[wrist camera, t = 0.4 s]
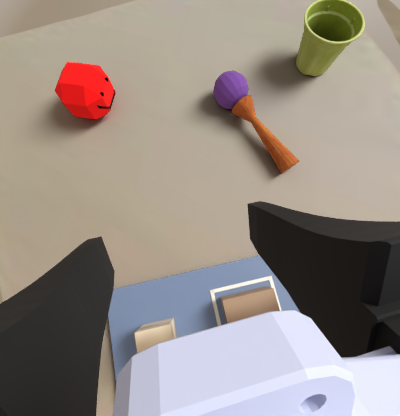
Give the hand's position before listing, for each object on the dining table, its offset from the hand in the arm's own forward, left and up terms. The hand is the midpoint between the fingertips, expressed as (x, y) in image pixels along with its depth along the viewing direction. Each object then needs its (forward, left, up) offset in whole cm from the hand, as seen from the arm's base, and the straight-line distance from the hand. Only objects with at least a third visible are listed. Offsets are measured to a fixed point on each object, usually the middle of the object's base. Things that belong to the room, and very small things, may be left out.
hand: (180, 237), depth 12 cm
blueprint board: (-10, 0, -27) cm, 28 cm away
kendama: (+20, -15, -27) cm, 37 cm away
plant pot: (+31, -30, -27) cm, 51 cm away
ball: (+31, +12, -27) cm, 43 cm away
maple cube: (-10, +7, -26) cm, 28 cm away
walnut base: (-10, -6, -26) cm, 28 cm away
